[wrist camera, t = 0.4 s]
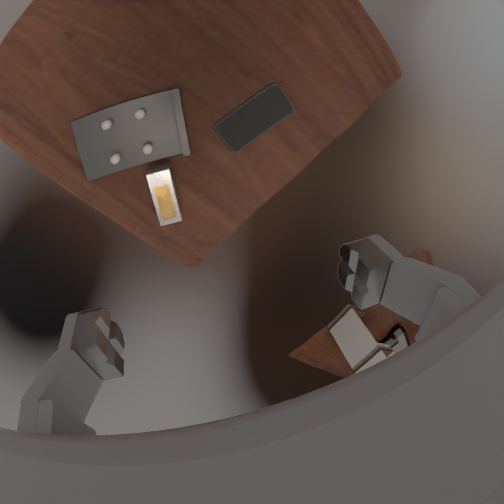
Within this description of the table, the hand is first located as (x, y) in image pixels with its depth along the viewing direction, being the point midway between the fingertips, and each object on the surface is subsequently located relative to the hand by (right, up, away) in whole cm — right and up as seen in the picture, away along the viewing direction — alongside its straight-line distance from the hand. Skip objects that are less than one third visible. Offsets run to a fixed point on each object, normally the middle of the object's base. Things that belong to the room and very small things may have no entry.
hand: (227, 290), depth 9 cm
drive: (-16, +14, +41) cm, 46 cm away
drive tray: (-21, +22, +33) cm, 45 cm away
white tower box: (+35, -22, +84) cm, 94 cm away
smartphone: (+1, +27, +38) cm, 46 cm away
